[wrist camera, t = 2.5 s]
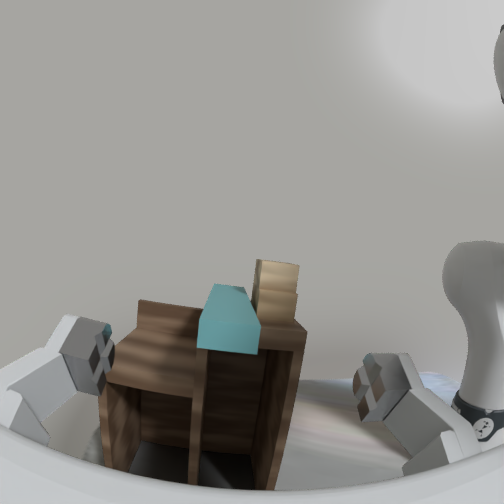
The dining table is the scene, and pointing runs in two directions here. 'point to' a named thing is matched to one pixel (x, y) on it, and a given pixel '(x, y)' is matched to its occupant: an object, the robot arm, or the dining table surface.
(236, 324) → the slat
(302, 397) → the dining table surface
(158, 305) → the rack
